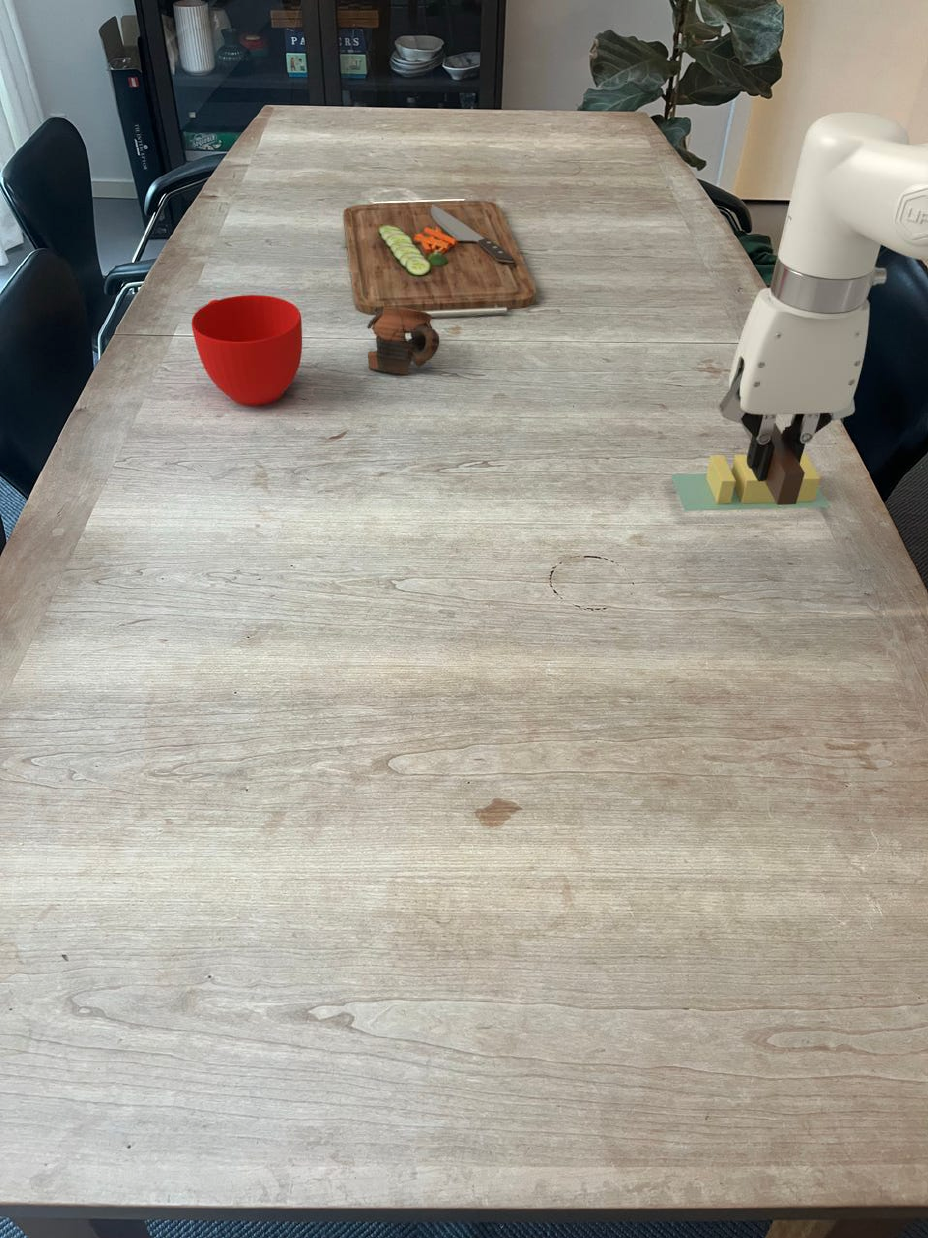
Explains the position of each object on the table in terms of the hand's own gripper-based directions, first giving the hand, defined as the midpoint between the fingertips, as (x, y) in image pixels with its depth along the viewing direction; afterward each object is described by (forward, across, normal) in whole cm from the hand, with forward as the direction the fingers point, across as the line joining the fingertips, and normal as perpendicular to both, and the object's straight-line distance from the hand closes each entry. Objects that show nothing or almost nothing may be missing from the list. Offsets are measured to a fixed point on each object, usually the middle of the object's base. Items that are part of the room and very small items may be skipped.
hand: (770, 471), depth 94 cm
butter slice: (+10, 0, -12) cm, 16 cm away
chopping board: (+12, +28, -80) cm, 86 cm away
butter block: (+10, -6, -12) cm, 17 cm away
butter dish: (+11, -4, -12) cm, 17 cm away
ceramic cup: (+12, +53, -39) cm, 67 cm away
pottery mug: (+12, +33, -45) cm, 57 cm away
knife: (0, 0, -4) cm, 4 cm away
